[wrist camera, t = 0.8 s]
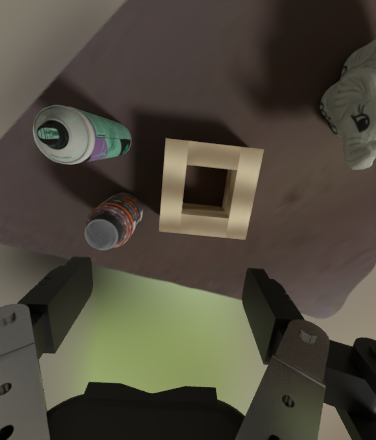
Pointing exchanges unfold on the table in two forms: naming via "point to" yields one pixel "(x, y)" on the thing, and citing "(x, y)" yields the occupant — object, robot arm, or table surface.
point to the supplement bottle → (113, 221)
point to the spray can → (78, 135)
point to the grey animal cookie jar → (355, 107)
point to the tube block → (233, 195)
